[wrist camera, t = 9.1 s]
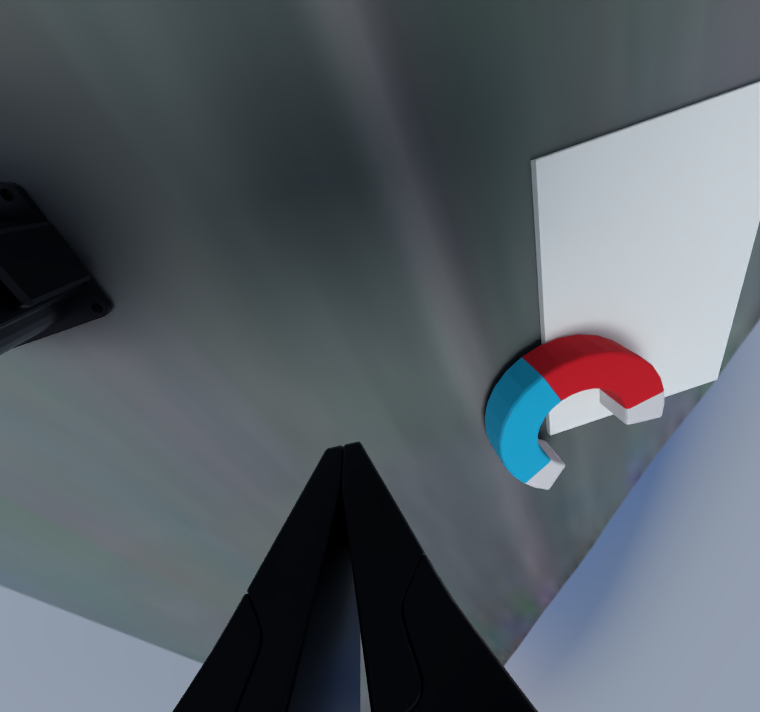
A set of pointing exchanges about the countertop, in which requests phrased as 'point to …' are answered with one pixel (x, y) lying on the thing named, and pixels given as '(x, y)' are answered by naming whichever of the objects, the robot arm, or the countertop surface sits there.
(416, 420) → the countertop surface
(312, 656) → the robot arm
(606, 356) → the magnet
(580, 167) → the white paper sheet
